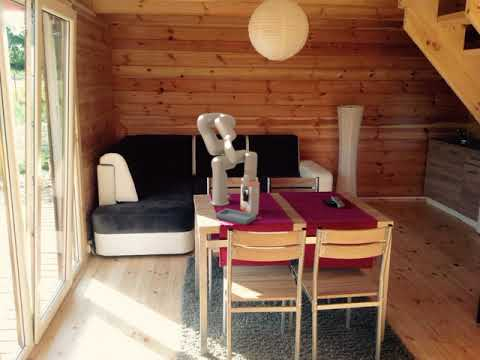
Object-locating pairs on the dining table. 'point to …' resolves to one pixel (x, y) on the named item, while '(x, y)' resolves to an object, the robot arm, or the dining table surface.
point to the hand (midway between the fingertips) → (249, 199)
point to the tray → (236, 216)
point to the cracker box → (251, 198)
